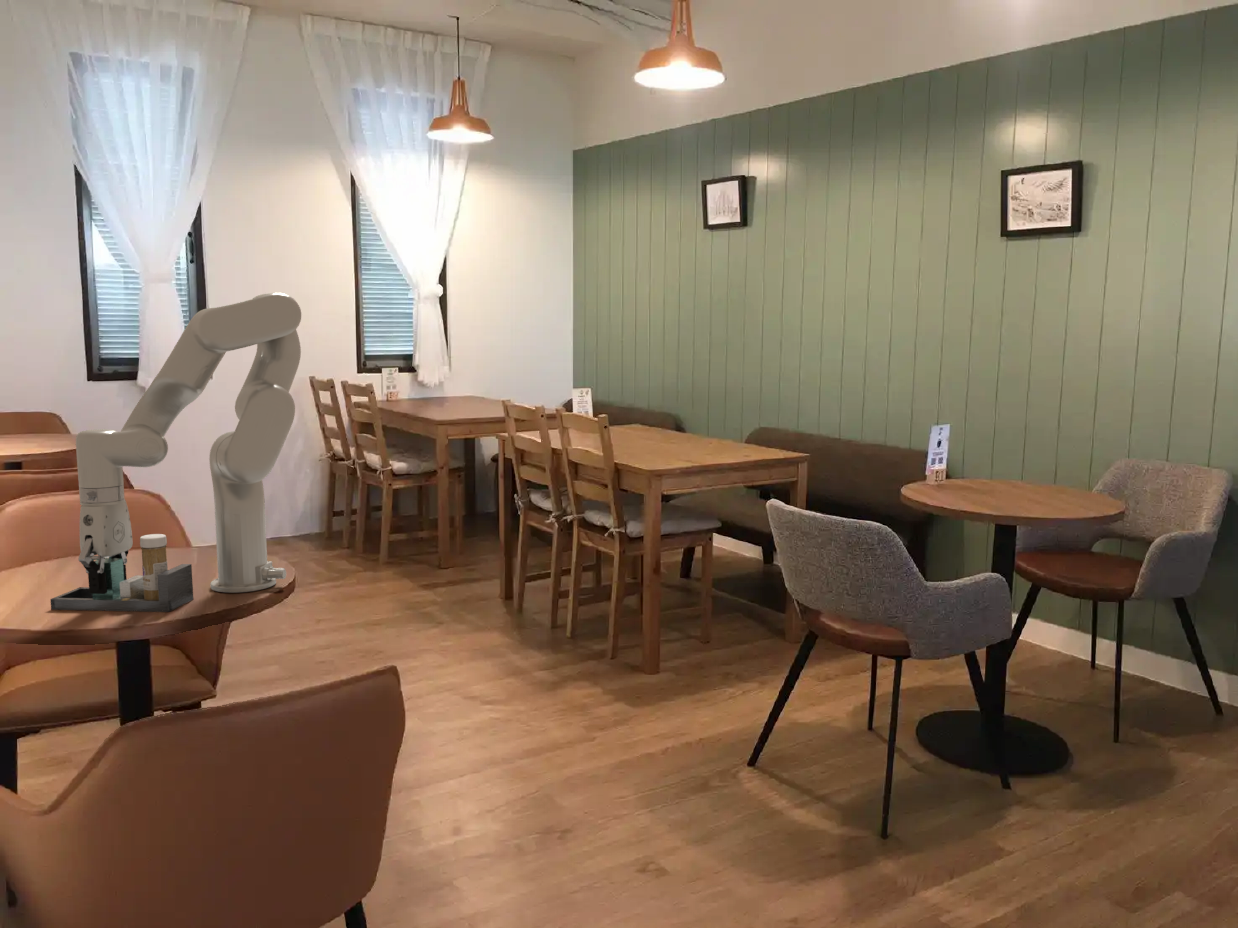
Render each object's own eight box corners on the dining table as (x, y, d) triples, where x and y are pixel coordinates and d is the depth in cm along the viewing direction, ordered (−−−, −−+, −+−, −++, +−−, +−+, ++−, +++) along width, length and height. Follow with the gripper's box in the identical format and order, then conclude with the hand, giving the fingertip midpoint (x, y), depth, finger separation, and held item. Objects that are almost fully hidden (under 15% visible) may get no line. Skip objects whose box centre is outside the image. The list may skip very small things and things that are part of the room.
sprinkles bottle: (139, 605, 191) (135, 535, 189) (163, 600, 194) (159, 532, 193) (150, 609, 188) (146, 538, 186) (174, 604, 191) (170, 535, 190)
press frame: (193, 599, 195) (191, 564, 194) (169, 611, 186) (166, 574, 185) (80, 597, 197) (78, 562, 196) (51, 609, 188) (48, 572, 187)
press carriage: (148, 598, 194) (145, 557, 193) (130, 606, 188) (127, 564, 187) (108, 597, 195) (105, 556, 194) (90, 605, 189) (87, 563, 188)
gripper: (93, 503, 180) (100, 601, 183) (146, 488, 197) (151, 578, 200) (54, 502, 181) (61, 600, 183) (109, 488, 198) (115, 578, 200)
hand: (108, 588), depth 192 cm, fingers open, 5 cm apart
